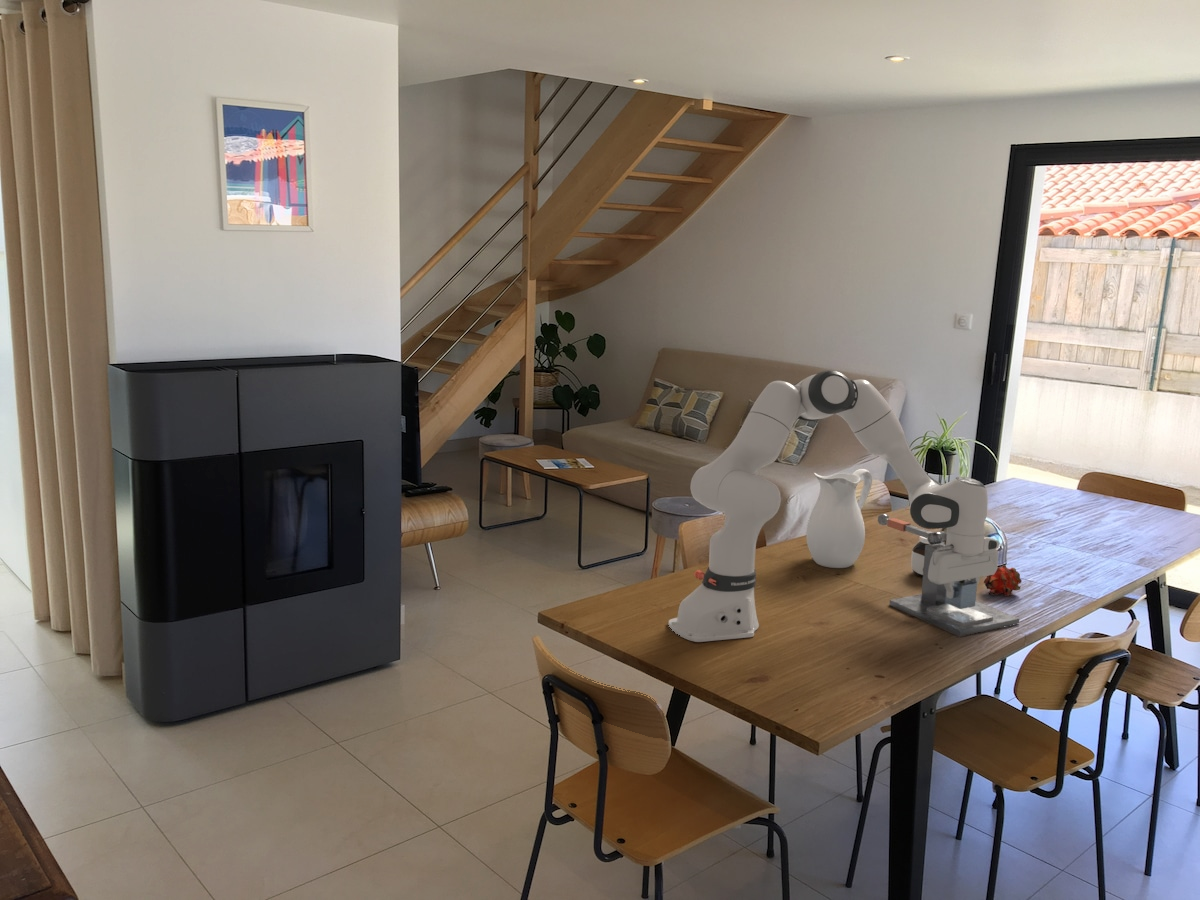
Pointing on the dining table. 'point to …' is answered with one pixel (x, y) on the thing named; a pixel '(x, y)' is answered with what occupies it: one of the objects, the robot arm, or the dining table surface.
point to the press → (950, 607)
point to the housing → (963, 594)
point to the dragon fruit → (1003, 581)
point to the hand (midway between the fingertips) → (960, 595)
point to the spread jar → (919, 556)
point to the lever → (912, 529)
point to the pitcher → (838, 519)
